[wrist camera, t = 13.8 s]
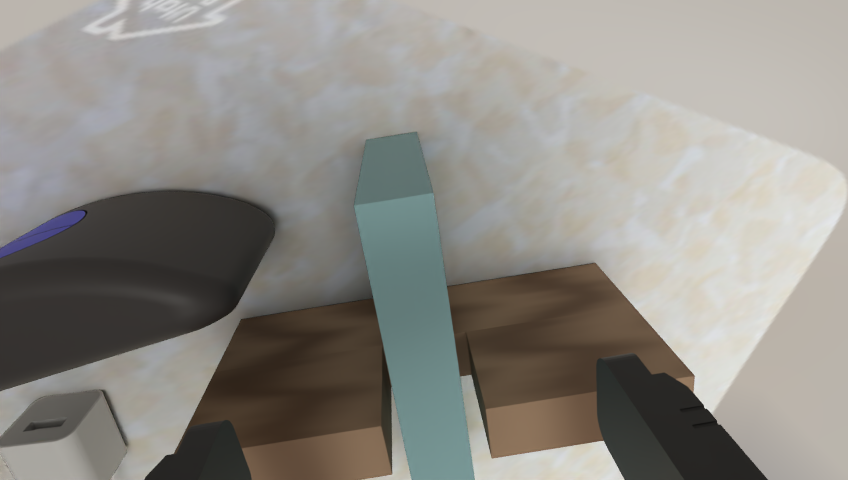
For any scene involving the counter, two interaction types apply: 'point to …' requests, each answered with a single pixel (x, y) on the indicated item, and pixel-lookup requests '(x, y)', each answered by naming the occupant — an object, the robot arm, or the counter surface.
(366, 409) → the brown flat u-shaped block
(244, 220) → the black rounded block
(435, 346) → the teal plate
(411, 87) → the counter surface
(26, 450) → the usb wall charger
